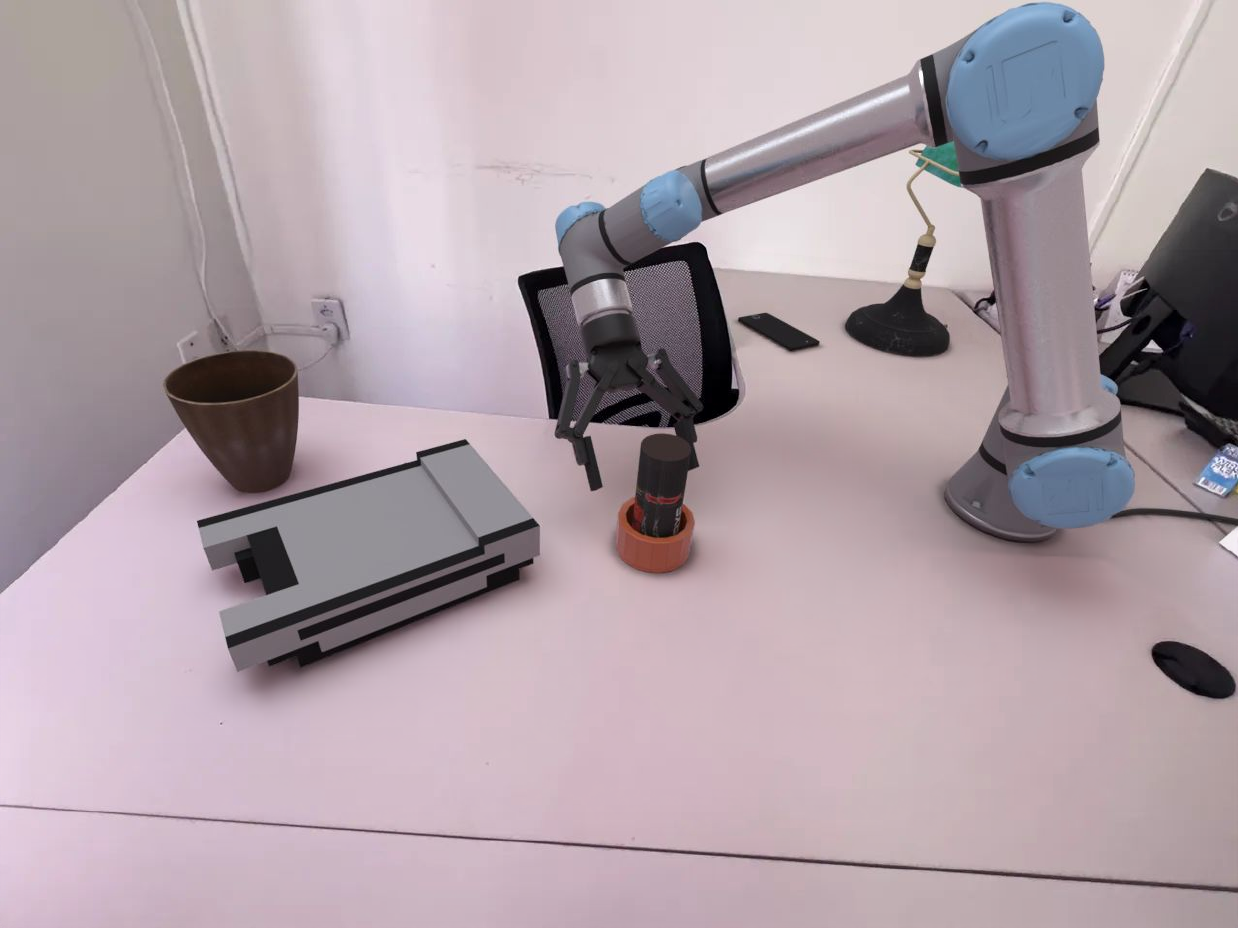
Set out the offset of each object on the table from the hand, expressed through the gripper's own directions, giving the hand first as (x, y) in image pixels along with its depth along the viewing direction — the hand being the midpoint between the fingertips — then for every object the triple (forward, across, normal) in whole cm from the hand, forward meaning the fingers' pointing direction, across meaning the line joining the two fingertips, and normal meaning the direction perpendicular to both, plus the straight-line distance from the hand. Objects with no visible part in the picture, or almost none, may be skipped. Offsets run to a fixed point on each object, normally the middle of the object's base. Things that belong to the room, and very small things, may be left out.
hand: (646, 479), depth 83 cm
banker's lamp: (-24, -86, -36) cm, 96 cm away
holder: (+9, 0, -3) cm, 9 cm away
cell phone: (-30, -59, -42) cm, 78 cm away
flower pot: (-14, +46, -26) cm, 54 cm away
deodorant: (+8, 0, -3) cm, 9 cm away
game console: (+4, +33, -8) cm, 34 cm away
